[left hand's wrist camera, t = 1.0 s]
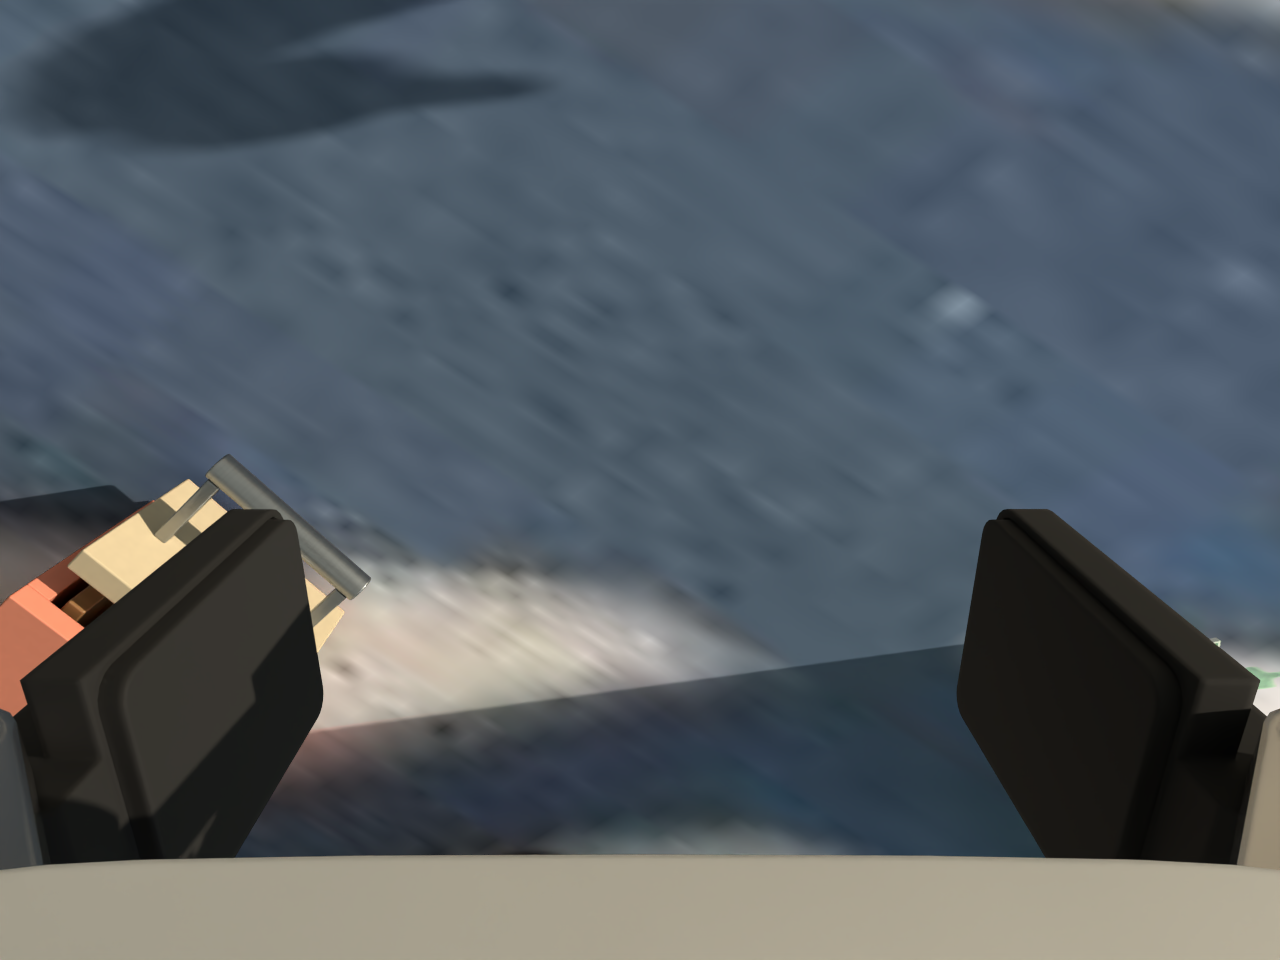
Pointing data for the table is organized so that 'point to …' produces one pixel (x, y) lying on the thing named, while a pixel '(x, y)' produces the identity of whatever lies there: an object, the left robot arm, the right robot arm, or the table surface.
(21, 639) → the cabinet
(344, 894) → the left robot arm
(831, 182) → the table surface
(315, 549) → the drawer
